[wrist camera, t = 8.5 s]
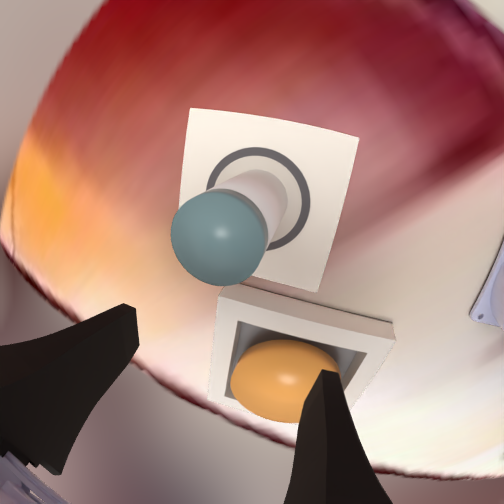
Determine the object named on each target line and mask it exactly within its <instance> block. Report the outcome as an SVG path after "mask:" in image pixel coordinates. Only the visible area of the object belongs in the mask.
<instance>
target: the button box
mask: <svg viewBox="0 0 504 504" xmlns="http://www.w3.org/2000/svg"><path fill="white" fill-rule="evenodd" d="M270 340H295V341H300V342H304V343H307V344H310V345H313V346H315V347H317V348H319V349H321V350H323V351H324V352H326V353H327V354H328V355H330V356H331V357H332V358H333V359H334V361H335V362H336V363H337V365H338V367H339V369H340V372H341V383H342V387H343V390H344V394H345V397H346V401H347V404H348V407H349V411H350V410H351V408H352V407H353V406H354V404H355V403H356V402H357V400H358V399H359V398H360V396H361V395H362V393H363V392H364V391H365V389H366V388H367V386H368V385H369V383H370V382H371V380H372V379H373V377H374V376H375V374H376V373H377V371H378V370H379V368H380V367H381V365H382V364H383V362H384V360H385V359H386V357H387V356H388V354H389V352H390V351H391V349H392V347H393V346H394V344H395V342H396V337H395V333H394V329H393V325H392V323H391V322H387V321H382V320H378V319H374V318H369V317H365V316H361V315H357V314H353V313H349V312H344V311H340V310H336V309H332V308H328V307H324V306H320V305H316V304H313V303H309V302H305V301H301V300H297V299H293V298H290V297H286V296H282V295H278V294H275V293H271V292H267V291H264V290H260V289H256V288H253V287H249V286H245V285H242V284H235V285H231V286H224V288H223V289H222V291H221V292H220V294H219V295H218V302H217V311H216V319H215V328H214V337H213V346H212V355H211V365H210V375H209V385H208V395H207V400H210V401H213V402H216V403H219V404H222V405H225V406H228V407H231V408H234V409H237V410H241V411H244V412H247V413H251V414H254V413H252V412H250V411H249V410H247V409H246V408H245V407H244V406H242V405H241V404H240V403H239V402H238V401H237V399H236V398H235V396H234V395H233V393H232V390H231V385H230V381H231V377H232V374H233V371H234V369H235V367H236V364H237V362H238V360H239V358H240V356H241V355H242V354H243V353H244V352H245V351H246V350H247V349H248V348H250V347H252V346H254V345H256V344H258V343H261V342H265V341H270ZM255 415H256V414H255ZM291 424H295V425H299V423H291Z"/></svg>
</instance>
